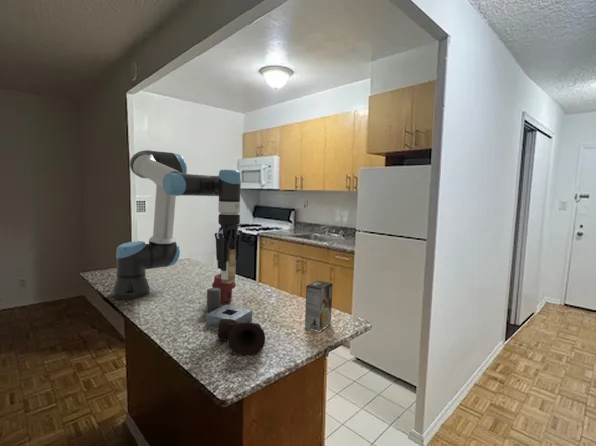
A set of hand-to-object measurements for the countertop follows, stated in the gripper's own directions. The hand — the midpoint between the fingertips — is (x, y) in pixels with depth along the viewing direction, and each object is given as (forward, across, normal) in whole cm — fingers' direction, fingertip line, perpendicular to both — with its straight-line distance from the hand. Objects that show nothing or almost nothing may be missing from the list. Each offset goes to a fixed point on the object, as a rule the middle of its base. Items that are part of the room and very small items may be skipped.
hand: (228, 277), depth 122 cm
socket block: (+17, +1, 0) cm, 17 cm away
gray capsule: (+17, +7, +12) cm, 22 cm away
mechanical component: (+17, +18, +16) cm, 30 cm away
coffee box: (+17, +14, -30) cm, 38 cm away
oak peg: (+2, 0, 0) cm, 2 cm away
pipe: (+18, -12, -14) cm, 25 cm away
